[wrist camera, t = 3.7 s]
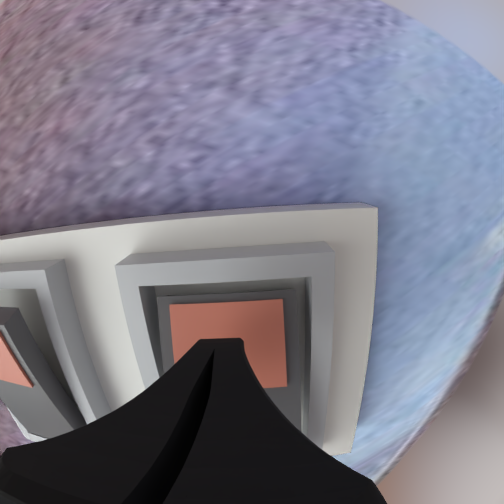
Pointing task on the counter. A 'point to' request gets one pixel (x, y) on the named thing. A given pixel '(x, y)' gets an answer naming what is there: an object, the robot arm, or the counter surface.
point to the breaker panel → (199, 282)
